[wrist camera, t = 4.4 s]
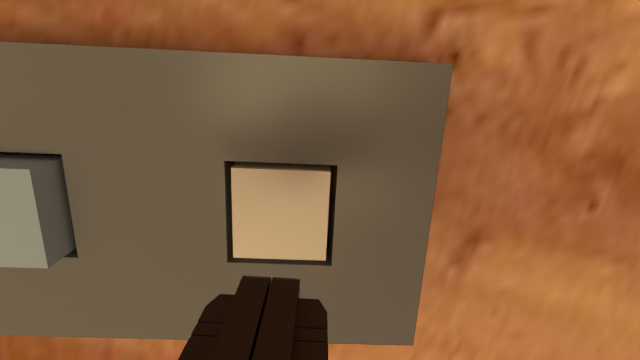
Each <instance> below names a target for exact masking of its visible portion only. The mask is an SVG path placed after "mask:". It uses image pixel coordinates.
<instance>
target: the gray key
mask: <svg viewBox="0 0 640 360" xmlns="http://www.w3.org/2000/svg"><path fill="white" fill-rule="evenodd" d="M75 248H76V242H75V236H74V229H73V223H72V217H71V211H70V204H69V198H68V192H67V186H66V179H65V173H64V167H63V161H62V156H52V155H27V154H2V153H0V267H17V268H49V267H51V266H52V265H53V264H55V263H56V262H58V261H59V260H60V259H62V258H63V257H64V256H66V255H67V254H68V253H70V252H71V251H73V250H74V249H75Z"/></svg>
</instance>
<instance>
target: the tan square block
mask: <svg viewBox="0 0 640 360" xmlns="http://www.w3.org/2000/svg"><path fill="white" fill-rule="evenodd" d="M330 175H331V171H330V165H318V164H293V163H268V162H243V161H237V162H236V163H235V164H234V165H233V166H232V167H231V190H232V230H233V258H260V259H291V260H322V261H326V247H327V229H328V211H329V193H330Z"/></svg>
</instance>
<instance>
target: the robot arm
mask: <svg viewBox="0 0 640 360" xmlns="http://www.w3.org/2000/svg"><path fill="white" fill-rule="evenodd" d="M299 297H300V278H285V277H273V278H272V280H271V277H265V276H247V275H243V276H242V278H241V281H240V283H239V286H238V288H237V291H236V293H235V295H232V294H219V295H218V296H217V297H216V298H215V299H213V300H212V301H211V302H210V303H209V304H207V305H206V306H205V308H204V310H203V312H202V314H201V316H200V318H199V320H198V324H196V326H195V328H194V330H193V332H192V334H191V338H189V340H188V342H187V344H186V345H185V347H184V349H183V351H182V353H181V355H180V357H179V359H178V360H328V321H327V311H326V310H325V308H324V306H323V305H322V303H321V302H320V300H319V299H306V298H299Z"/></svg>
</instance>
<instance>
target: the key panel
mask: <svg viewBox="0 0 640 360" xmlns="http://www.w3.org/2000/svg"><path fill="white" fill-rule="evenodd" d="M452 69H453V64H451V63H430V62H410V61H389V60H369V59H349V58H328V57H308V56H287V55H267V54H246V53H226V52H206V51H185V50H165V49H144V48H124V47H103V46H83V45H62V44H42V43H22V42H1V41H0V153H2V154H20V153H43V154H62V161H63V167H64V173H65V179H66V186H67V192H68V198H69V204H70V211H71V217H72V223H73V229H74V236H75V242H76V248H75V249H74V250H73V251H71V252H70V253H68V254H67V255H66V256H64V257H63V258H62V259H60V260H59V261H58V262H56V263H55V264H53V265H52V266H51V267H49V268H17V267H0V335H14V336H54V337H94V338H134V339H173V340H189V338H191V334H192V332H193V330H194V328H195V326H196V324H198V320H199V318H200V316H201V314H202V312H203V310H204V308H205V306H206V305H207V304H209V303H210V302H211V301H212V300H213V299H215V298H216V297H217V296H218V295H219V294H232V295H235V293H236V291H237V288H238V286H239V283H240V281H241V278H242V276H243V275H247V276H265V277H271V280H272V278H273V277H285V278H300V297H299V298H306V299H319V300H320V302H321V303H322V305H323V306H324V308H325V310H326V311H327V321H328V343H332V344H372V345H412V346H413V342H414V335H415V328H416V321H417V314H418V307H419V300H420V293H421V286H422V279H423V272H424V265H425V258H426V251H427V244H428V237H429V230H430V223H431V216H432V209H433V202H434V195H435V188H436V181H437V174H438V167H439V160H440V153H441V146H442V139H443V132H444V125H445V118H446V111H447V104H448V97H449V90H450V83H451V76H452ZM237 161H243V162H268V163H293V164H318V165H332V174H331V192H330V210H329V227H328V231H327V247H326V261H322V260H291V259H260V258H233V230H232V190H231V167H232V166H233V165H234V164H235V163H236V162H237Z"/></svg>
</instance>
